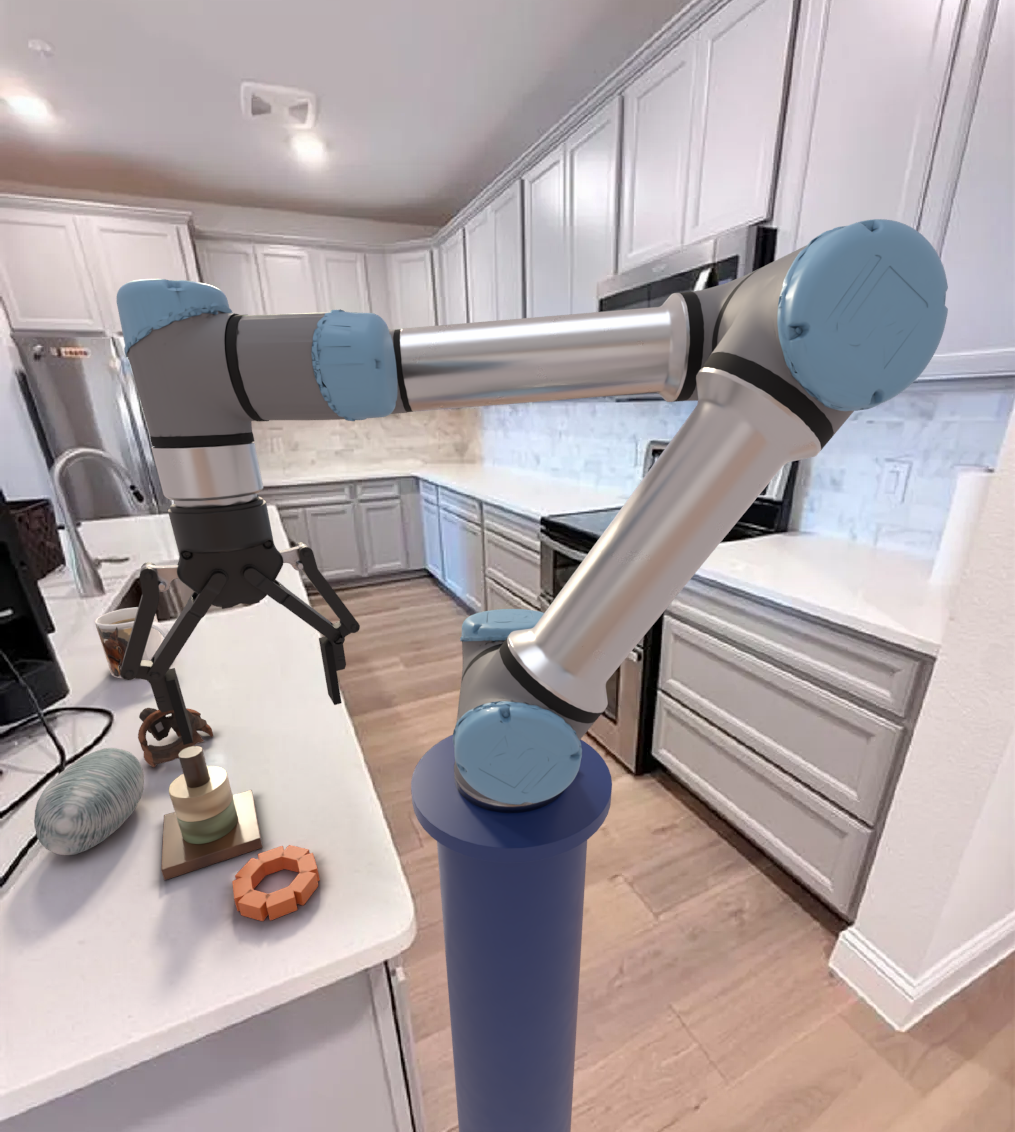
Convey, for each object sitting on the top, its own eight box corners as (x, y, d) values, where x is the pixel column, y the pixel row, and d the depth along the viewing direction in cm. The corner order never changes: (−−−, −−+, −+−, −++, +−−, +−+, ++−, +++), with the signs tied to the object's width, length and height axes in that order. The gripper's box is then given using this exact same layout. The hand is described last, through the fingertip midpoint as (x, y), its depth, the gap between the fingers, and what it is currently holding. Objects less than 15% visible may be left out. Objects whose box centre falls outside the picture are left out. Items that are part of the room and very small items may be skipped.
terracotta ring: (310, 848, 65) (308, 836, 64) (325, 899, 58) (323, 886, 57) (233, 875, 61) (230, 862, 60) (239, 932, 54) (236, 919, 54)
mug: (164, 652, 117) (151, 602, 113) (182, 669, 109) (169, 617, 105) (105, 667, 110) (89, 615, 106) (120, 687, 102) (103, 632, 98)
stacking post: (253, 798, 73) (235, 719, 68) (262, 847, 65) (242, 762, 60) (166, 824, 69) (141, 742, 64) (164, 880, 60) (134, 791, 56)
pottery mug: (233, 738, 87) (213, 712, 80) (189, 790, 82) (164, 768, 75) (173, 708, 90) (149, 681, 83) (127, 757, 84) (97, 733, 78)
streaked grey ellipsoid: (79, 767, 74) (84, 719, 69) (156, 787, 77) (166, 742, 72) (8, 862, 63) (7, 814, 58) (100, 881, 66) (108, 836, 61)
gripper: (352, 481, 55) (376, 672, 63) (40, 508, 44) (119, 735, 52) (374, 490, 49) (398, 699, 57) (20, 523, 38) (112, 777, 46)
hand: (265, 717), depth 55 cm, fingers open, 13 cm apart
